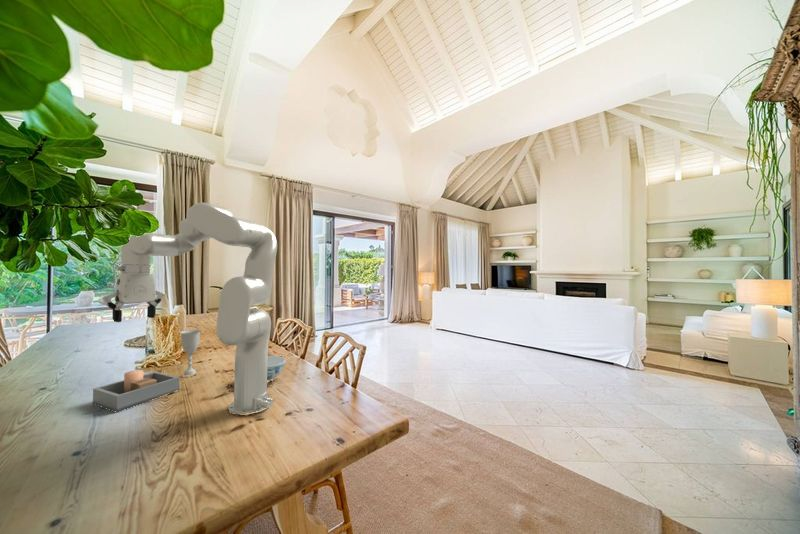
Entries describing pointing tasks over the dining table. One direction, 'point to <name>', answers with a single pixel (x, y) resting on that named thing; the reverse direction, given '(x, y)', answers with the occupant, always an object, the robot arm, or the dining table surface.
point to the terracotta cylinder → (131, 378)
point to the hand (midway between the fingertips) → (134, 319)
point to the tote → (134, 392)
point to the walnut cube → (142, 383)
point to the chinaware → (274, 366)
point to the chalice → (190, 346)
